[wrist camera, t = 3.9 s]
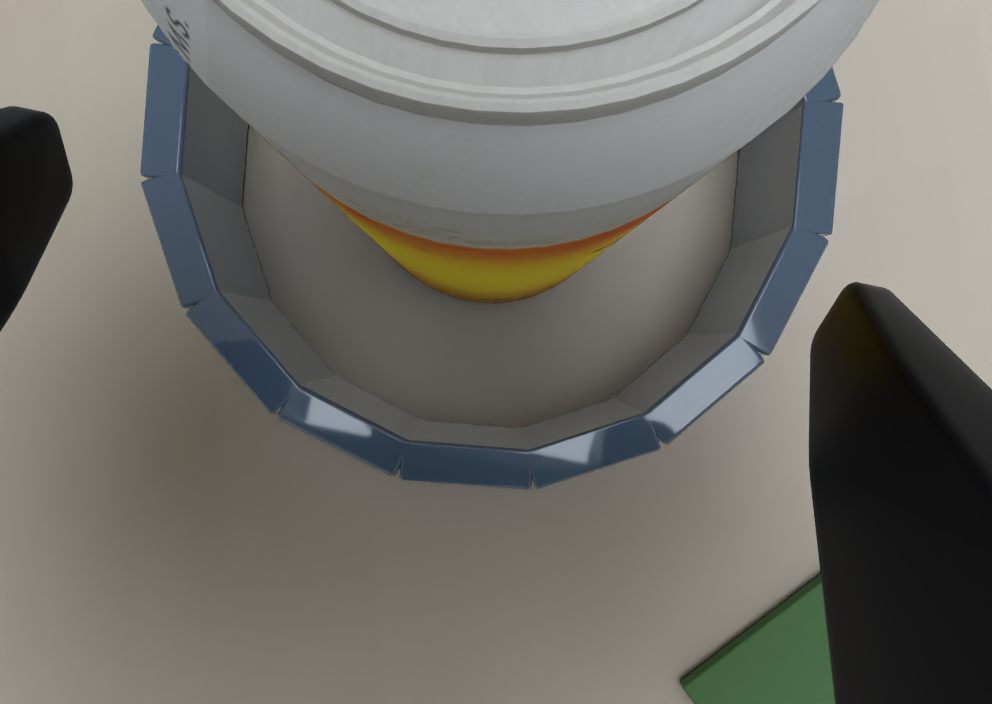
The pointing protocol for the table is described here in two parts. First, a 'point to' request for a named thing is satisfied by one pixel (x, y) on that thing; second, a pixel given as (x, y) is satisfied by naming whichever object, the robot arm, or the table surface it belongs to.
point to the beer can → (507, 112)
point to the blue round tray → (468, 447)
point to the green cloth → (772, 659)
